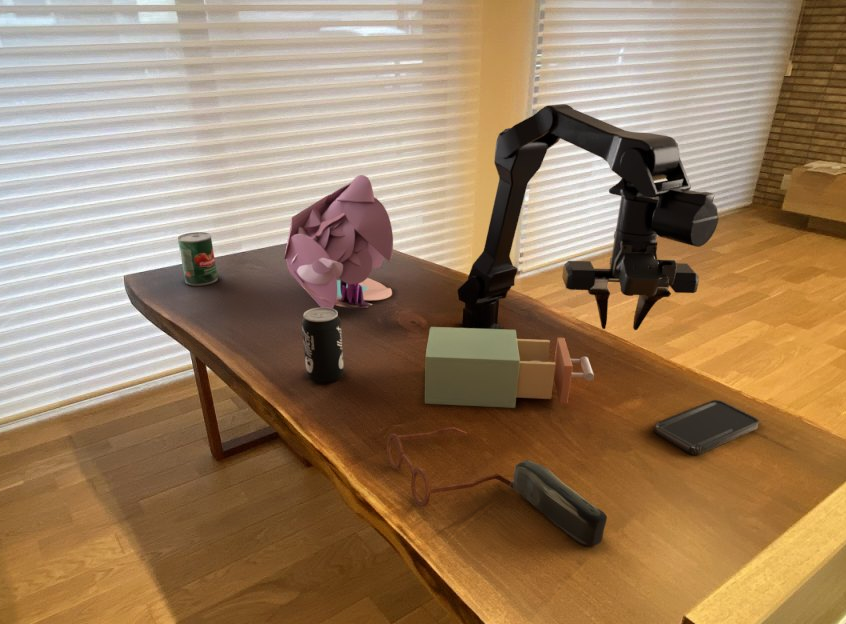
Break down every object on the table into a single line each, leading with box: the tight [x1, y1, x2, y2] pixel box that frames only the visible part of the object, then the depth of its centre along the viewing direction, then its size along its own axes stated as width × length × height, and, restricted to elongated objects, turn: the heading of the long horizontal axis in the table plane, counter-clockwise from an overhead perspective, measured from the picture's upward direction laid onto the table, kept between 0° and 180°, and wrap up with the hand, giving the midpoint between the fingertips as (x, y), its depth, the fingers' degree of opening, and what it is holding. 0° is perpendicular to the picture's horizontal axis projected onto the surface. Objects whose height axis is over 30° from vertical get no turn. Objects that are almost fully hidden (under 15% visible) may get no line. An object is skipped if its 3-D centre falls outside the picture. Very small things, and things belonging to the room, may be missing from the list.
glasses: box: [386, 426, 513, 507], centre depth 83 cm, size 13×13×5 cm
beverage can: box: [301, 306, 345, 385], centre depth 106 cm, size 7×7×12 cm
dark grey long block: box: [507, 459, 608, 547], centre depth 76 cm, size 5×3×15 cm
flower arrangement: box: [284, 174, 394, 309], centre depth 138 cm, size 35×24×28 cm
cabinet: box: [424, 326, 520, 409], centre depth 103 cm, size 15×12×9 cm
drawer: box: [516, 337, 595, 404], centre depth 102 cm, size 18×10×7 cm, turn 84°
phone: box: [653, 399, 760, 456], centre depth 93 cm, size 8×1×15 cm
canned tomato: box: [176, 231, 219, 287], centre depth 151 cm, size 8×8×11 cm
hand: (619, 328), depth 97 cm, fingers open, 4 cm apart
